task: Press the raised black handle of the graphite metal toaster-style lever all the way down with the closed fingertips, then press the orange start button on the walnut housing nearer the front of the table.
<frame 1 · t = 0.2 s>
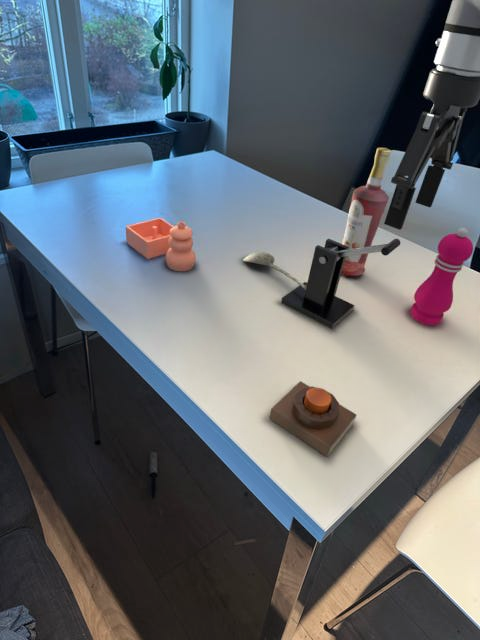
hand: (408, 215, 74), 23 cm above the table, tool pointing down, fingers open, 13 cm apart
liquor: (348, 272, 104), on the table
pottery: (165, 254, 103), on the table
soupspoon: (278, 277, 98), point 1 cm above the table, touching lever bracket
start button: (317, 400, 64), point 5 cm above the table, slide at 0.2 cm
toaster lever: (357, 251, 80), point 15 cm above the table, hinge at 30.0°
pepper mill: (424, 317, 93), on the table
button box: (311, 421, 67), on the table
lever bracket: (317, 306, 92), on the table
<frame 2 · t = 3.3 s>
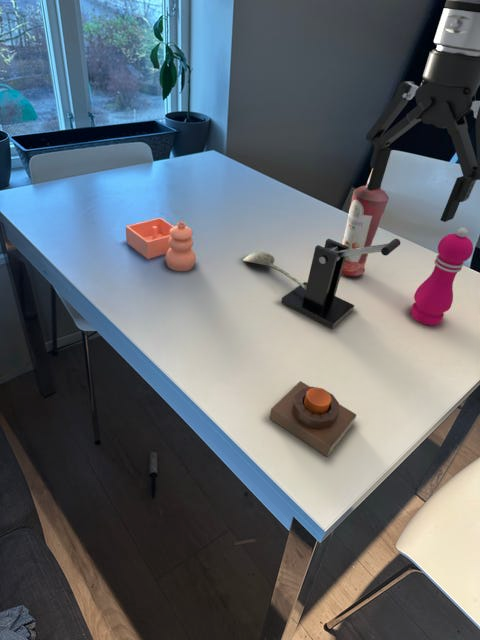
hand: (408, 203, 72), 26 cm above the table, tool pointing down, fingers open, 13 cm apart
nothing on the table moved.
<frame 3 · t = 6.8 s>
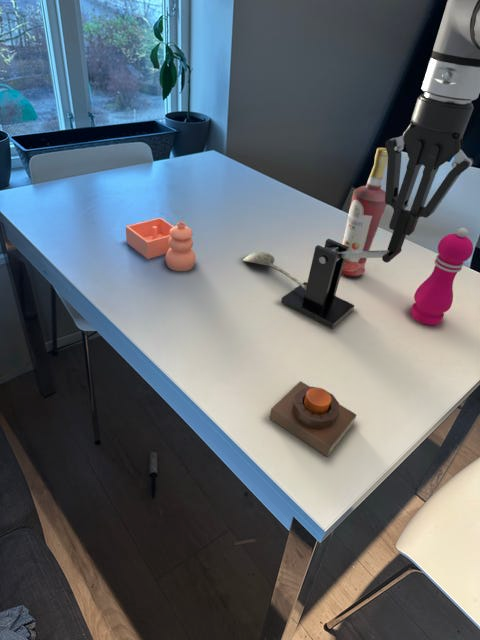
hand: (394, 248, 76), 18 cm above the table, tool pointing down, fingers closed
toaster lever: (357, 254, 81), point 14 cm above the table, hinge at 24.1°, touching gripper
everything else where it was.
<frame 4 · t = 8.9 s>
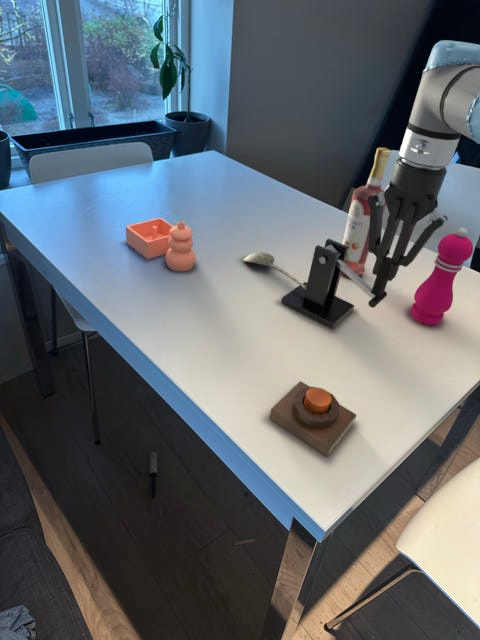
hand: (377, 291, 81), 9 cm above the table, tool pointing down, fingers closed
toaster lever: (352, 275, 83), point 10 cm above the table, hinge at -21.2°, touching gripper
everything else where it was.
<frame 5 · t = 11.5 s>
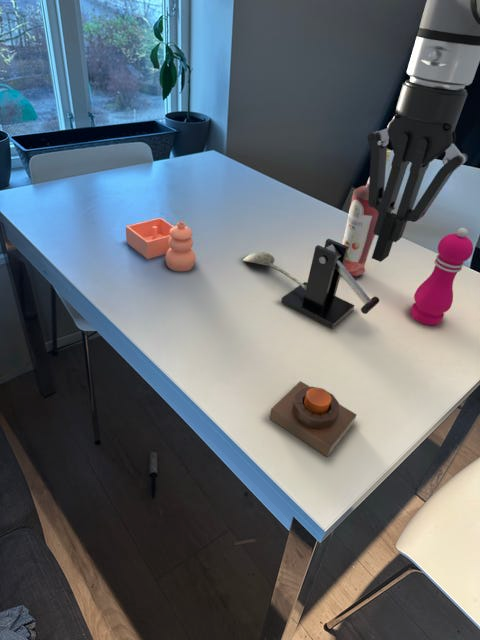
hand: (380, 257, 67), 20 cm above the table, tool pointing down, fingers closed
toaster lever: (348, 278, 84), point 9 cm above the table, hinge at -31.3°
everything else where it was.
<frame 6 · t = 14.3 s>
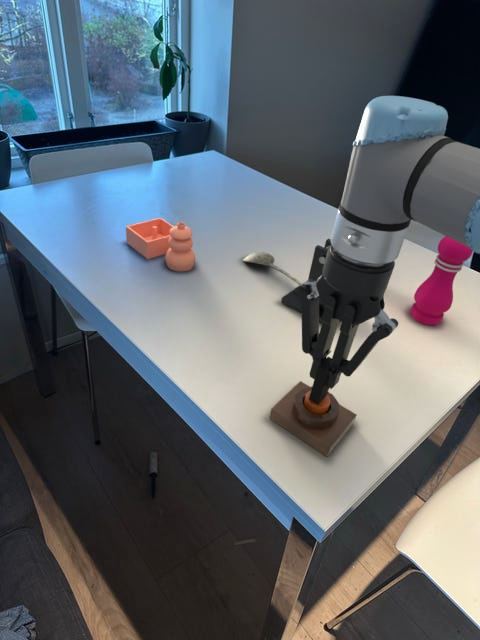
hand: (317, 396, 64), 5 cm above the table, tool pointing down, fingers closed
start button: (316, 402, 65), point 4 cm above the table, slide at -0.3 cm, touching gripper
everything else where it was.
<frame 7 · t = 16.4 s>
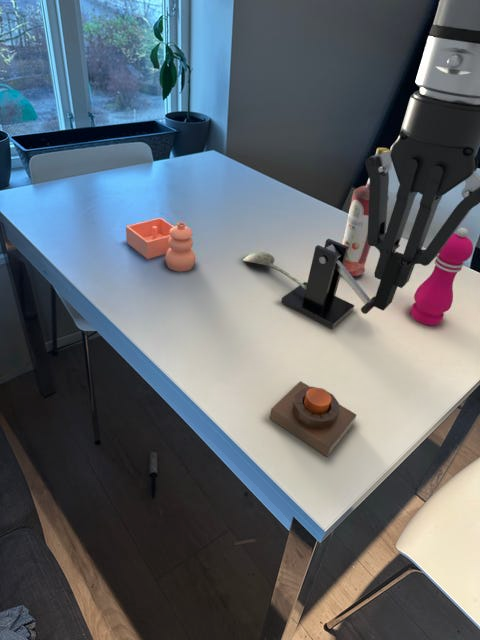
hand: (382, 303, 55), 21 cm above the table, tool pointing down, fingers closed
start button: (317, 400, 64), point 5 cm above the table, slide at 0.2 cm
everything else where it was.
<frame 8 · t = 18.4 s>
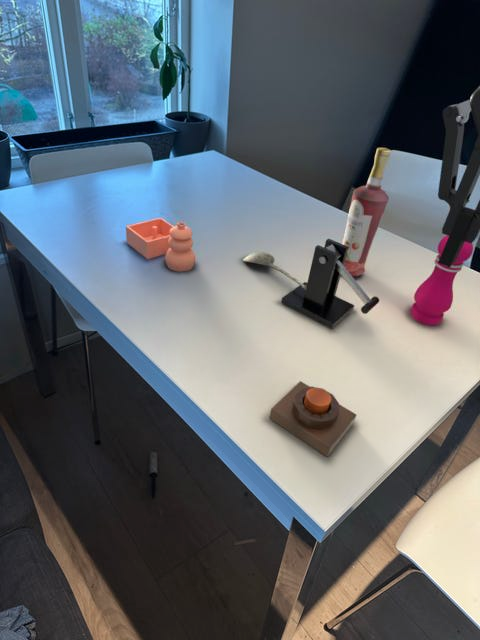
hand: (447, 261, 55), 26 cm above the table, tool pointing down, fingers closed
nothing on the table moved.
at the end: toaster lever at -31° (first picture: +30°); start button pushed in 1.0 cm at the most during the clip, back to 0.2 cm at the end; start button slide at 0.2 cm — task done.
